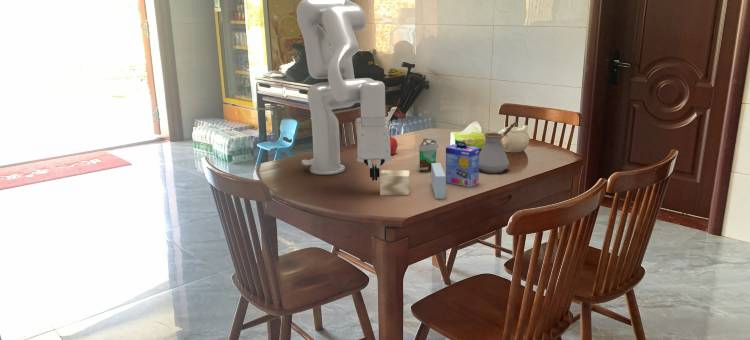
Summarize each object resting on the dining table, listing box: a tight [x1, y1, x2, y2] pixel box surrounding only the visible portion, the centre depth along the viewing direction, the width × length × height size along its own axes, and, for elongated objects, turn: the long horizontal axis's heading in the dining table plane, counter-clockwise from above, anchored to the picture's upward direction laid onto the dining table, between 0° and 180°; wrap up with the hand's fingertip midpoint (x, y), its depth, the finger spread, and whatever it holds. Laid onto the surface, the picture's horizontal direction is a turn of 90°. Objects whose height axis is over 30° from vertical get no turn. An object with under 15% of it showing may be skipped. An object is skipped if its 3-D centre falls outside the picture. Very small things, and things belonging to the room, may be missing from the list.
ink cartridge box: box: [445, 140, 480, 188], centre depth 188 cm, size 10×6×14 cm, turn 51°
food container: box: [418, 137, 439, 173], centre depth 207 cm, size 12×6×10 cm, turn 168°
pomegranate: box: [389, 133, 399, 156], centre depth 231 cm, size 10×10×9 cm
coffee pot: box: [479, 122, 519, 174], centre depth 206 cm, size 21×12×15 cm, turn 138°
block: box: [379, 169, 411, 196], centre depth 182 cm, size 9×7×6 cm
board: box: [430, 162, 447, 200], centre depth 182 cm, size 3×16×7 cm, turn 179°
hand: (374, 179), depth 182 cm, fingers closed
